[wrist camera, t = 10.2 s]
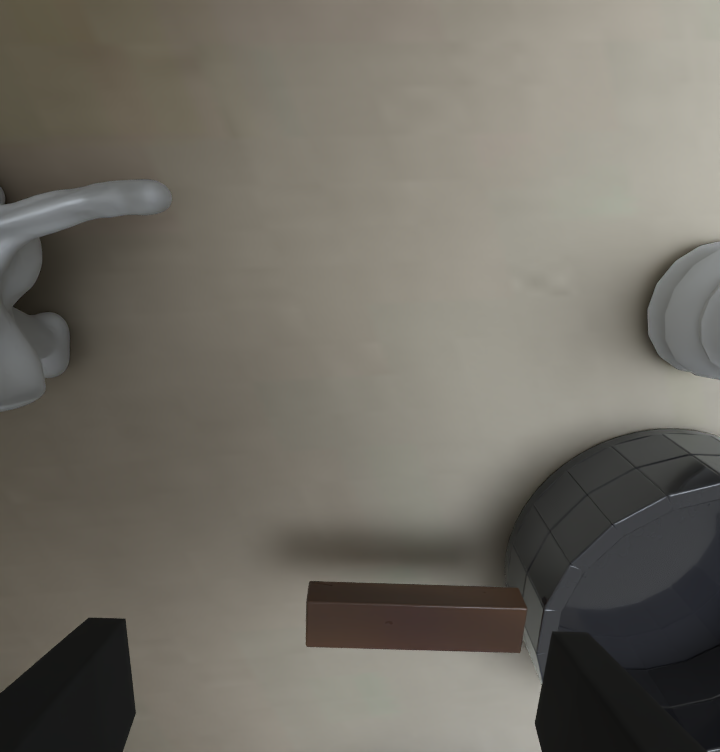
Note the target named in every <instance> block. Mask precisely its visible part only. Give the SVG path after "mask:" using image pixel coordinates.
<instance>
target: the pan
mask: <svg viewBox="0 0 720 752" xmlns="http://www.w3.org/2000/svg"><path fill="white" fill-rule="evenodd" d="M505 580H506V587H516V588H519V590H520V592H521V595H522V597H523V599H524V602H525V604H526V606H527V615H526V621H525V627H524V633H523V640H524V642H525V645H526V647H527V650H528V652H529V655H530V657H531V660H532V662H533V665H534V667H535V670H536V672H537V675H538V677H539V680H540V682H541V685H542V682H543V677H544V671H545V666H546V661H547V655H548V650H549V645H550V639H551V634H552V631H558V632H588V633H589V634H590V635H591V636H592V637H593V638H594V639H595V640H596V641H597V642H598V643H599V644H600V645H601V646H602V647H603V648H604V649H605V650H606V651H607V652H608V653H609V654H610V655H611V656H612V657H613V658H614V659H615V660H616V661H617V662H618V663H619V664H620V665H621V666H622V667H623V668H624V669H625V670H626V671H627V672H628V673H629V674H630V675H631V676H632V677H633V678H634V679H635V680H636V681H637V682H638V683H639V684H640V685H641V686H642V687H643V688H644V689H645V690H646V691H647V692H648V693H649V694H650V695H651V696H652V697H653V698H654V699H655V700H656V701H657V702H658V703H659V704H660V706H661V707H662V708H663V709H664V710H666V711H667V712H668V713H669V714H670V715H671V716H672V717H673V718H674V719H675V720H676V721H677V722H678V723H679V724H680V725H681V726H682V727H683V728H684V729H685V730H686V731H687V732H688V733H689V734H690V735H691V736H692V737H693V738H694V739H695V740H696V741H697V742H698V743H699V744H700V745H701V746H702V747H703V748H704V749H705V750H706V751H707V752H720V437H719V436H717V435H713V434H709V433H704V432H700V431H694V430H684V429H655V430H648V431H641V432H635V433H632V434H628V435H624V436H620V437H617V438H614V439H611V440H609V441H606V442H604V443H601V444H598V445H596V446H594V447H592V448H590V449H589V450H587V451H585V452H583V453H581V454H579V455H578V456H576V457H575V458H573V459H572V460H570V461H569V462H567V463H566V464H564V465H563V466H561V467H560V468H559V469H558V470H557V471H556V472H554V473H553V474H552V475H551V476H550V477H549V478H547V480H546V481H545V482H544V483H543V484H542V485H541V486H540V487H539V488H538V489H537V490H536V491H535V493H534V494H533V495H532V497H531V498H530V499H529V501H528V502H527V504H526V505H525V506H524V508H523V510H522V512H521V513H520V515H519V517H518V519H517V521H516V523H515V525H514V528H513V531H512V533H511V536H510V539H509V543H508V547H507V552H506V559H505Z"/></svg>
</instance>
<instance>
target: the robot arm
mask: <svg viewBox="0 0 720 752" xmlns="http://www.w3.org/2000/svg"><path fill="white" fill-rule="evenodd" d="M135 714H136V710H135V701H134V692H133V683H132V674H131V665H130V656H129V647H128V638H127V629H126V620H125V619H117V618H88V619H87V620H85V621H84V622H83V623H82V624H81V625H79V626H78V627H77V628H76V629H75V630H74V631H72V632H71V633H70V634H69V635H68V636H67V637H65V638H64V639H63V640H62V641H61V642H60V643H58V644H57V645H56V646H55V647H54V648H53V649H51V650H50V651H49V652H48V653H47V654H46V655H44V656H43V657H42V658H41V659H40V660H39V661H37V662H36V663H35V664H34V665H33V666H32V667H30V668H29V669H28V670H27V671H26V672H25V673H23V674H22V675H21V676H20V677H19V678H18V679H16V680H15V681H14V682H13V683H12V684H11V685H9V686H8V687H7V688H6V689H5V690H4V691H2V692H1V693H0V752H123V749H124V746H125V743H126V740H127V737H128V734H129V731H130V728H131V726H132V723H133V720H134V717H135ZM535 726H536V730H537V734H538V738H539V742H540V746H541V750H542V752H707V751H706V750H705V749H704V748H703V747H702V746H701V745H700V744H699V743H698V742H697V741H696V740H695V739H694V738H693V737H692V736H691V735H690V734H689V733H688V732H687V731H686V730H685V729H684V728H683V727H682V726H681V725H680V724H679V723H678V722H677V721H676V720H675V719H674V718H673V717H672V716H671V715H670V714H669V713H668V712H667V711H666V710H664V709H663V708H662V707H661V706H660V704H659V703H658V702H657V701H656V700H655V699H654V698H653V697H652V696H651V695H650V694H649V693H648V692H647V691H646V690H645V689H644V688H643V687H642V686H641V685H640V684H639V683H638V682H637V681H636V680H635V679H634V678H633V677H632V676H631V675H630V674H629V673H628V672H627V671H626V670H625V669H624V668H623V667H622V666H621V665H620V664H619V663H618V662H617V661H616V660H615V659H614V658H613V657H612V656H611V655H610V654H609V653H608V652H607V651H606V650H605V649H604V648H603V647H602V646H601V645H600V644H599V643H598V642H597V641H596V640H595V639H594V638H593V637H592V636H591V635H590V634H589V633H588V632H558V631H552V634H551V639H550V645H549V650H548V655H547V661H546V666H545V671H544V677H543V682H542V688H541V693H540V698H539V704H538V709H537V714H536V720H535Z"/></svg>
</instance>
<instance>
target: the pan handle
mask: <svg viewBox="0 0 720 752" xmlns="http://www.w3.org/2000/svg"><path fill="white" fill-rule="evenodd" d="M526 615H527V606H526V604H525V602H524V599H523V597H522V595H521V592H520V590H519V588H516V587H484V586H451V585H419V584H387V583H355V582H323V581H310V582H309V586H308V594H307V601H306V646H307V647H329V648H364V649H399V650H434V651H468V652H503V653H520V651H521V645H522V639H523V633H524V627H525V621H526Z"/></svg>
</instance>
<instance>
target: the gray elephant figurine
mask: <svg viewBox="0 0 720 752" xmlns="http://www.w3.org/2000/svg"><path fill="white" fill-rule="evenodd" d="M171 202H172V195H171V192H170V190H169V189H168V188H167V187H166V186H165V185H164V184H163V183H161V182H158V181H156V180H150V179H138V180H118V181H108V182H103V183H95V184H91V185H88V186H84V187H79V188H74V189H64V190H56V191H52V192H47V193H42V194H38V195H35V196H32V197H29V198H26V199H23V200H20V201H18V202H15V203H11V204H4V203H5V194H4V191H3V189H2V188H1V186H0V412H1V411H7V410H12V409H16V408H19V407H22V406H25V405H28V404H30V403H32V402H34V401H35V400H37V399H39V398H40V397H41V396H42V395H43V394H44V393H45V390H46V385H45V378H52V377H56V376H58V375H60V374H62V373H63V372H64V371H65V370H66V368H67V366H68V364H69V359H70V333H69V328H68V325H67V323H66V321H65V320H64V319H63V318H62V317H61V316H60V315H58V314H56V313H52V312H43V313H39V314H36V315H28V314H26V313H24V312H22V311H20V310H18V309H16V308H14V307H13V305H14V304H15V303H16V302H17V301H18V299H19V298H20V297H21V296H22V295H24V294H25V293H26V292H27V291H28V290H29V289H30V288H31V287H32V286H33V285H34V283H35V282H36V280H37V278H38V276H39V273H40V270H41V266H42V247H41V242H40V239H39V237H41V236H44V235H48V234H52V233H55V232H58V231H61V230H64V229H67V228H70V227H73V226H75V225H78V224H80V223H83V222H85V221H89V220H93V219H97V218H111V217H117V216H123V215H153V214H158V213H161V212H163V211H165V210H166V209H167V208H169V206H170V205H171Z"/></svg>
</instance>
